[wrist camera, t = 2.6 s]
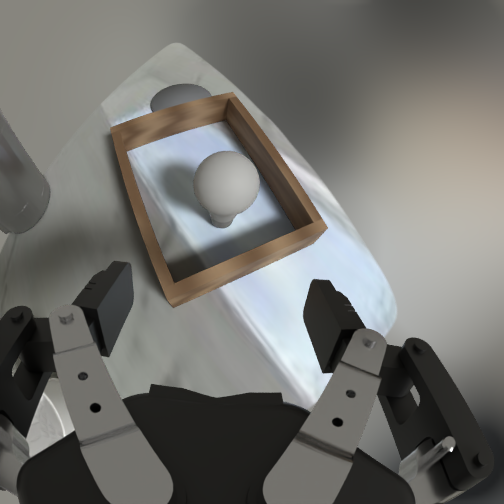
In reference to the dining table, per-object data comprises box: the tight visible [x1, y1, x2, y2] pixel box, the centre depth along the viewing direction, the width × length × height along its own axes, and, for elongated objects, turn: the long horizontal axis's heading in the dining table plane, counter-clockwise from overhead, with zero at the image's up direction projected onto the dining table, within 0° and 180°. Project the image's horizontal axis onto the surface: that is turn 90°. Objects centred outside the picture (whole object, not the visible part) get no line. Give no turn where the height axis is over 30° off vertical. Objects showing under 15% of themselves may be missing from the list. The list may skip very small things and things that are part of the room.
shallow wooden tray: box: [110, 92, 328, 308], centre depth 31 cm, size 18×24×4 cm
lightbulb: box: [193, 151, 260, 228], centre depth 27 cm, size 6×6×11 cm
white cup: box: [26, 378, 75, 457], centre depth 17 cm, size 8×8×10 cm
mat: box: [151, 84, 212, 112], centre depth 38 cm, size 10×10×1 cm
